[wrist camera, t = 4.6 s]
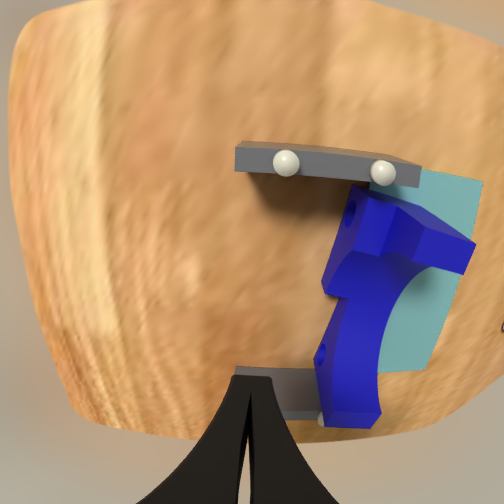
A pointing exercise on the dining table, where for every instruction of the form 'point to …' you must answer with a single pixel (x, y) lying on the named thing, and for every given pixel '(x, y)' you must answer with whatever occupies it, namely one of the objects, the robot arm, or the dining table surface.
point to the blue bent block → (374, 294)
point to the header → (321, 165)
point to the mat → (427, 272)
